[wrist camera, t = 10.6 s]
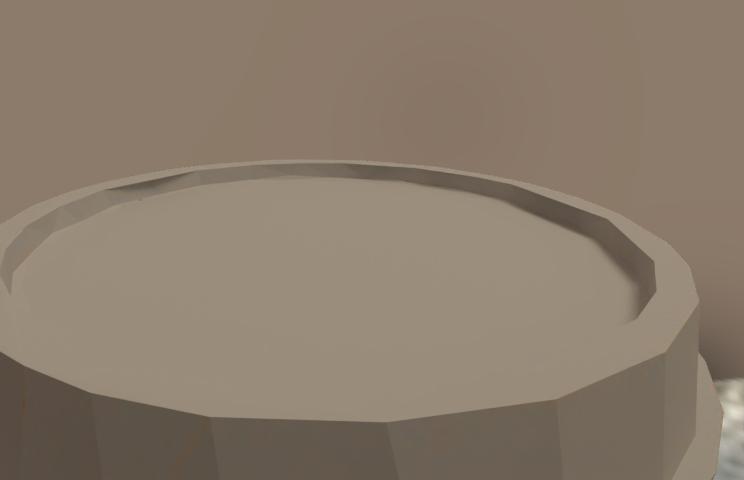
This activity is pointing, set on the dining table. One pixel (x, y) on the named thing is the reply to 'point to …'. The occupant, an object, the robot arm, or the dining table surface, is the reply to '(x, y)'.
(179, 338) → the disposable coffee cup
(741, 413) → the dining table surface
